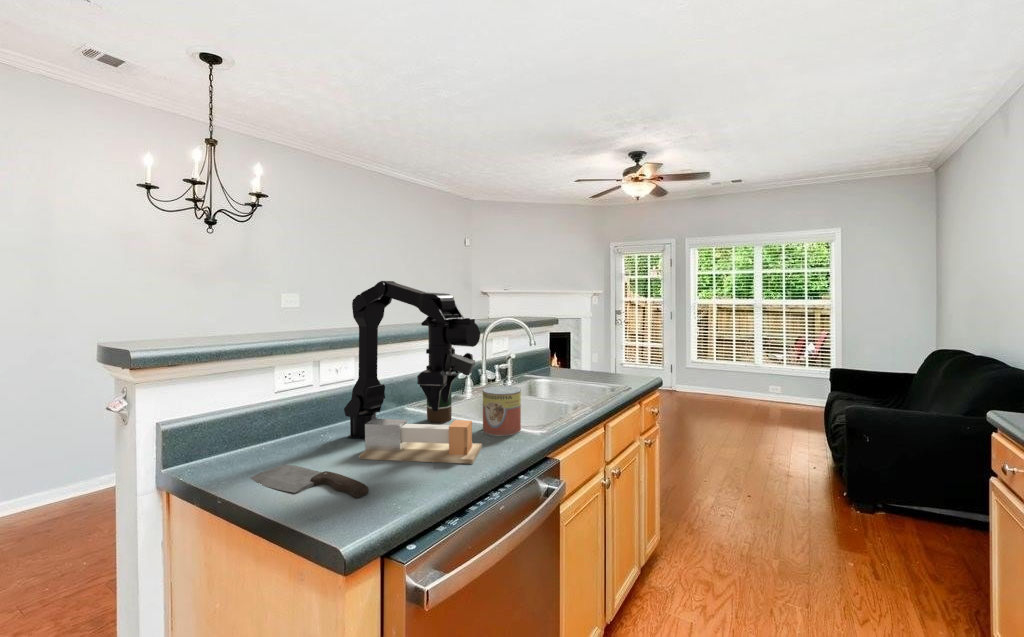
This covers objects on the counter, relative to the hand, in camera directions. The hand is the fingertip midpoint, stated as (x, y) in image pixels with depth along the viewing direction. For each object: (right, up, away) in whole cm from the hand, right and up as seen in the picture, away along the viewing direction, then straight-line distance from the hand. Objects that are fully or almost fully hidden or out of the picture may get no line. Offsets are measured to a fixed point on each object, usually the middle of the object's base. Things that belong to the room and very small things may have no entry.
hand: (440, 406), depth 120 cm
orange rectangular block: (+5, -11, 0) cm, 12 cm away
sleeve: (-14, -12, +2) cm, 19 cm away
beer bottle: (-5, -10, +32) cm, 34 cm away
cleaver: (-25, -14, -18) cm, 34 cm away
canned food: (+15, -11, +21) cm, 28 cm away
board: (-5, -12, +1) cm, 13 cm away
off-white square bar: (-4, -9, +1) cm, 10 cm away
